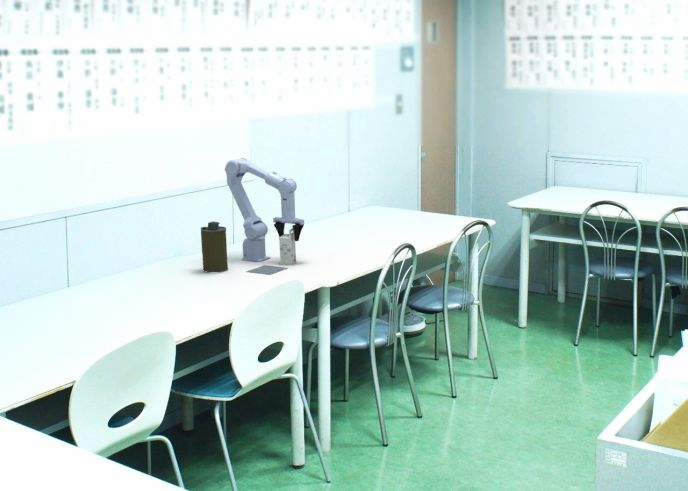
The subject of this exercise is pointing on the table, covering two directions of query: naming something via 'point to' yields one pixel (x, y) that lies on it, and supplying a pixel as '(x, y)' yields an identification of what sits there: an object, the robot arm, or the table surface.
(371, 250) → the table surface
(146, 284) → the table surface
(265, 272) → the mat
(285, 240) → the ink cartridge box
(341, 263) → the table surface
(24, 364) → the table surface
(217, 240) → the canister
